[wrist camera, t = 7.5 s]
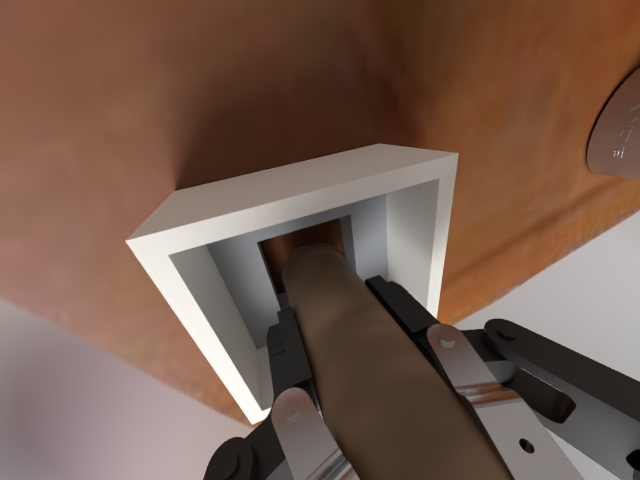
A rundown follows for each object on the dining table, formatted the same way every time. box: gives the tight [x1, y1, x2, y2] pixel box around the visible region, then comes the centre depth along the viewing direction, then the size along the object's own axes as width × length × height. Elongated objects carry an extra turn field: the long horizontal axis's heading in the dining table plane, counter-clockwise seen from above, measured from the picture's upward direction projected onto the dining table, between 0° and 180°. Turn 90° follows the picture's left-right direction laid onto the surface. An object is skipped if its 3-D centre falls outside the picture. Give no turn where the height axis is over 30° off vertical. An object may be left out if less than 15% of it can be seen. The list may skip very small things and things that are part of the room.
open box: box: [126, 144, 459, 424], centre depth 13 cm, size 12×12×6 cm
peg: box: [282, 243, 512, 480], centre depth 9 cm, size 4×4×11 cm
